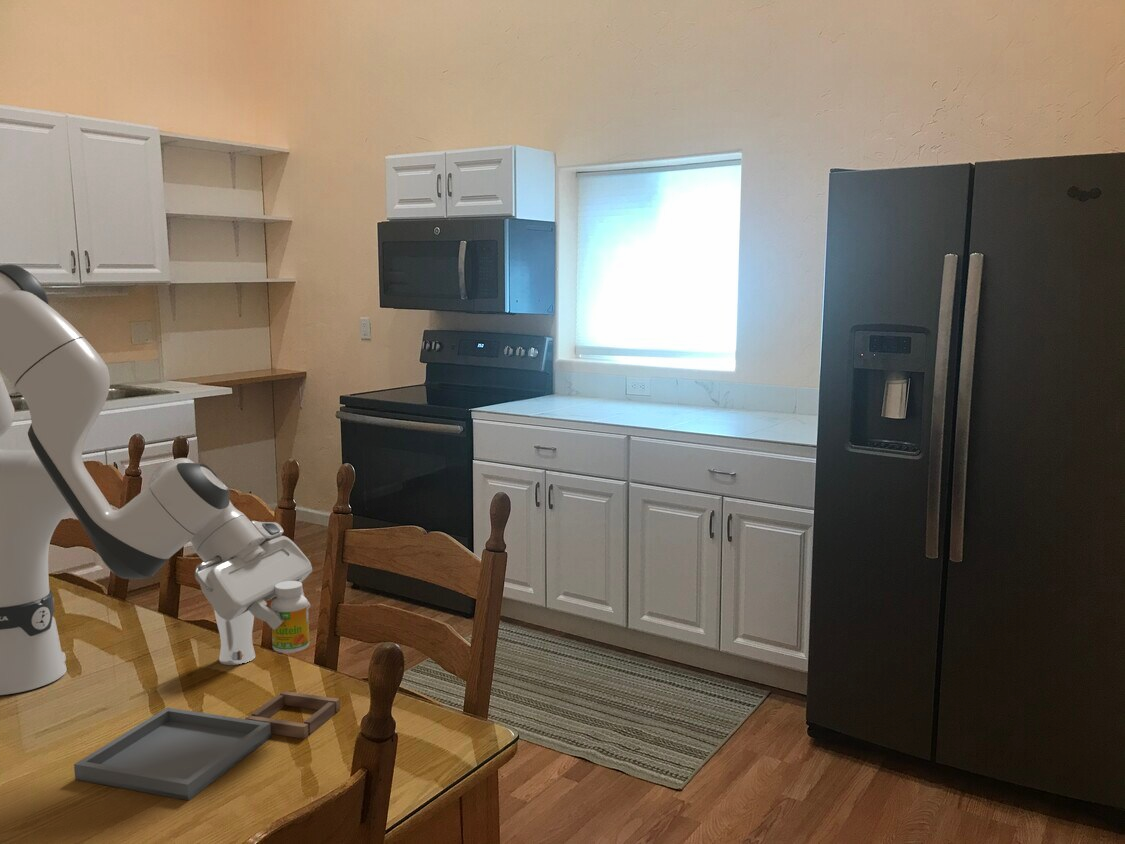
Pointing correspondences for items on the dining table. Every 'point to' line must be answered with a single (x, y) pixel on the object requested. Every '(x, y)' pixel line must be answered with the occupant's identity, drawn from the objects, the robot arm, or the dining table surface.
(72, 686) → the dining table surface
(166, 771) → the grey tray
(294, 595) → the supplement bottle
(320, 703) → the frame
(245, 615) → the beer glass
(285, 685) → the dining table surface
